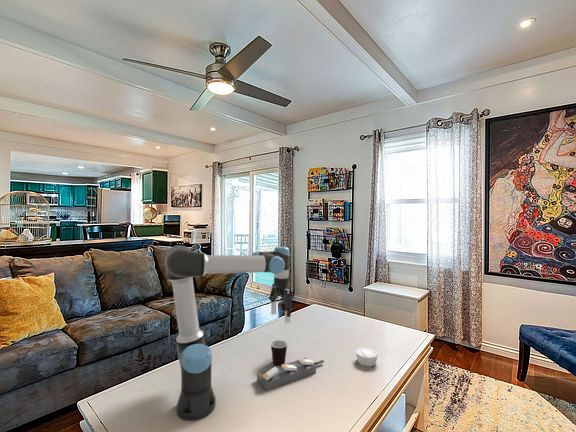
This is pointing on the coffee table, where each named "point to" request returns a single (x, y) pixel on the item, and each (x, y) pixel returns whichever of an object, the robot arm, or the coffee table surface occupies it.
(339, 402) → the coffee table surface
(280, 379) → the power strip
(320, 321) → the coffee table surface
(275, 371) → the block
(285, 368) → the rocker
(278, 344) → the coffee mug
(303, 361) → the block
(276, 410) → the coffee table surface
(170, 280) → the robot arm
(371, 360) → the ramekin
